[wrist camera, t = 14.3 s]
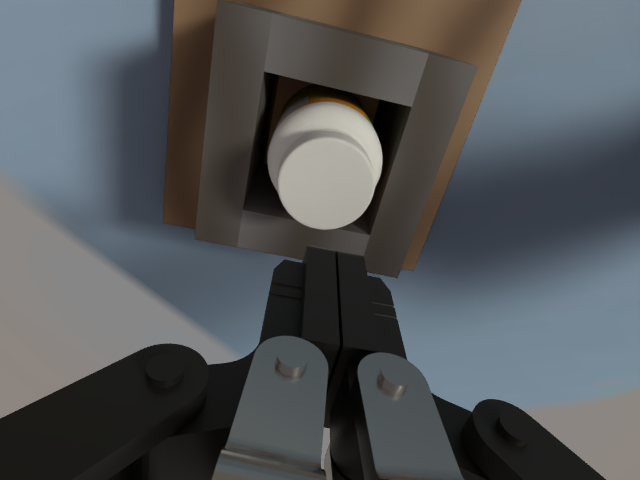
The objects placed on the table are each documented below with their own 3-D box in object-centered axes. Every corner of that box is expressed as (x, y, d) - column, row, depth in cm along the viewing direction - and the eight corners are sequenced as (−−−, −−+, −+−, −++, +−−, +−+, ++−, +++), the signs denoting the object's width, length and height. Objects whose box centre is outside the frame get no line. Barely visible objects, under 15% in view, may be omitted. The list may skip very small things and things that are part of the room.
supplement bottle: (385, 130, 25) (420, 190, 17) (320, 186, 27) (322, 266, 18) (326, 59, 23) (331, 86, 15) (260, 125, 25) (231, 183, 17)
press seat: (379, 84, 25) (382, 88, 24) (354, 175, 28) (355, 183, 27) (283, 61, 25) (281, 64, 23) (266, 156, 28) (264, 163, 26)
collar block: (513, -8, 24) (615, -18, 16) (409, 261, 33) (440, 343, 25) (187, -99, 22) (111, -165, 14) (169, 213, 31) (115, 287, 23)
